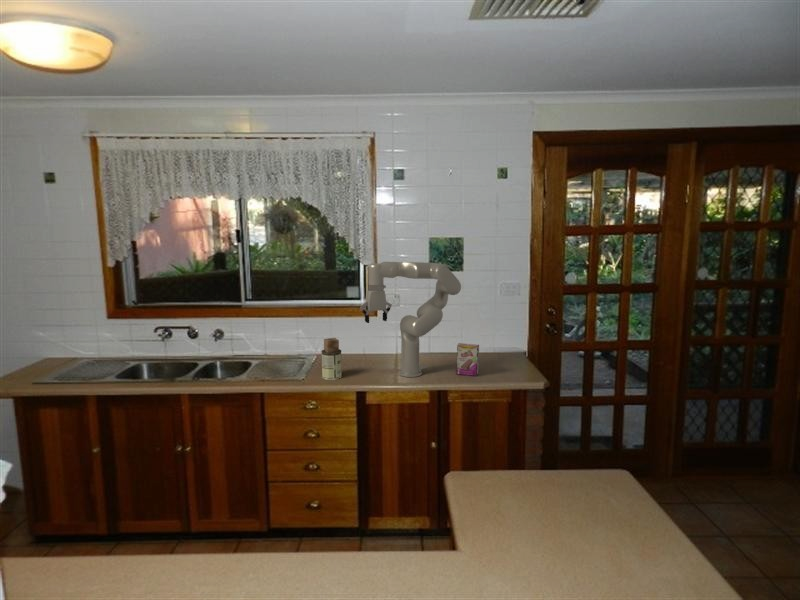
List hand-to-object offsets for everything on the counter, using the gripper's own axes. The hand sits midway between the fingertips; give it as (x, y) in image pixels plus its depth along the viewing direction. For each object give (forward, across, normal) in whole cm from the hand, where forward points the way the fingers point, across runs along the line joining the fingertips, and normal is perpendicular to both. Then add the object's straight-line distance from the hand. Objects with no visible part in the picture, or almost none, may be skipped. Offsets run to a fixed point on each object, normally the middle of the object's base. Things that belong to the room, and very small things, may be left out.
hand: (376, 321), depth 258 cm
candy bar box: (+31, -47, +15) cm, 58 cm away
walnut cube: (+16, +19, -14) cm, 29 cm away
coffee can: (+31, +19, -14) cm, 39 cm away
